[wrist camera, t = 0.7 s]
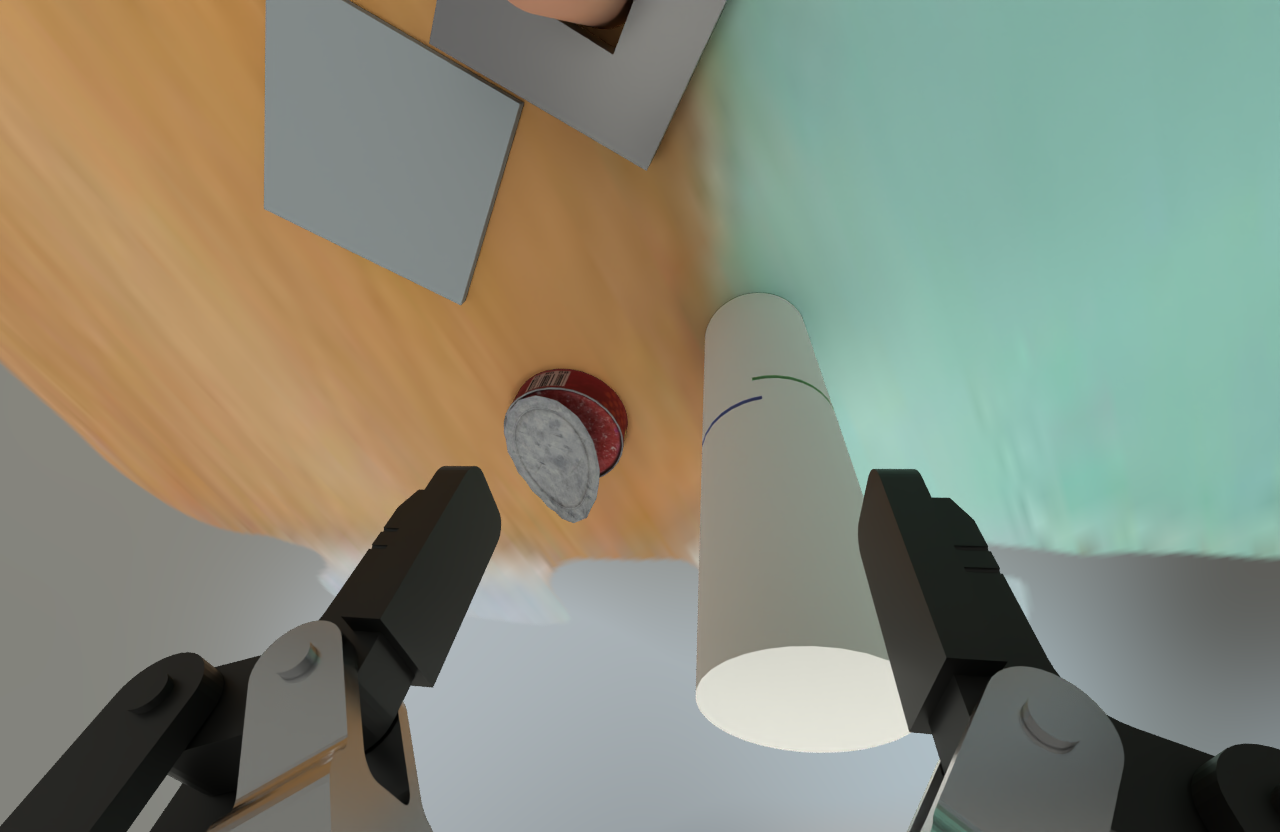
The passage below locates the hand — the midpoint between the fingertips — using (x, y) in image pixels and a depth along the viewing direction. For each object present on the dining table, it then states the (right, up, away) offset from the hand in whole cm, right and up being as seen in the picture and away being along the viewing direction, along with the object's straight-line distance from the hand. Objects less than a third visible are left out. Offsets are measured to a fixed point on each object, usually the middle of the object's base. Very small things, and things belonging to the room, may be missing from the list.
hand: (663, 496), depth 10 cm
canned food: (-6, +2, +32) cm, 33 cm away
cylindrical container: (+8, +7, +25) cm, 28 cm away
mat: (-17, +18, +21) cm, 32 cm away
